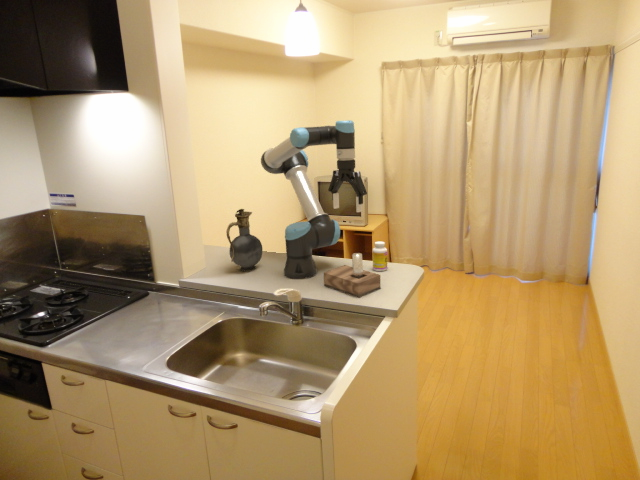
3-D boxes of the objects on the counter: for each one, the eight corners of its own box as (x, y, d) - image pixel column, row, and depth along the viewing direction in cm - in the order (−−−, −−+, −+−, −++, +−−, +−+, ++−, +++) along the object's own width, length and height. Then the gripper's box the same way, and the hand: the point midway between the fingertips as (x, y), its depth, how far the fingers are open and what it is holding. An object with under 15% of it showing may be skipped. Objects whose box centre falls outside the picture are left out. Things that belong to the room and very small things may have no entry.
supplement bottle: (386, 271, 206) (386, 244, 202) (372, 271, 207) (371, 244, 204) (387, 267, 212) (387, 240, 209) (373, 266, 213) (373, 240, 210)
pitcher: (267, 265, 223) (262, 205, 215) (240, 277, 207) (233, 213, 200) (250, 262, 229) (245, 204, 221) (223, 274, 213) (216, 211, 206)
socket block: (324, 285, 192) (323, 272, 191) (345, 277, 200) (345, 264, 199) (358, 297, 178) (358, 283, 176) (380, 288, 186) (380, 274, 184)
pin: (351, 287, 186) (349, 254, 183) (358, 284, 189) (356, 252, 185) (358, 289, 183) (357, 256, 180) (365, 286, 186) (364, 254, 182)
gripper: (318, 159, 193) (321, 208, 198) (362, 161, 174) (363, 215, 180) (331, 157, 197) (333, 205, 203) (375, 159, 179) (375, 211, 185)
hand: (347, 210), depth 191 cm, fingers open, 13 cm apart
